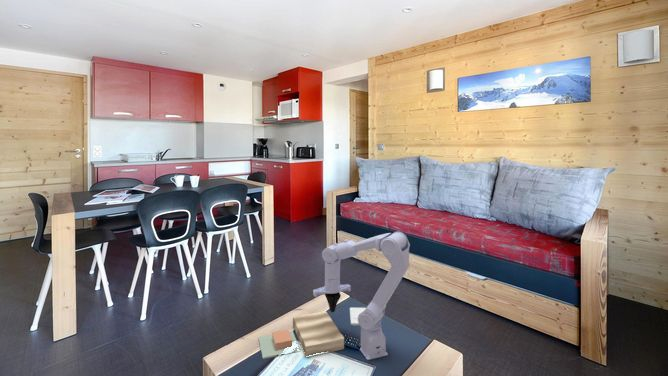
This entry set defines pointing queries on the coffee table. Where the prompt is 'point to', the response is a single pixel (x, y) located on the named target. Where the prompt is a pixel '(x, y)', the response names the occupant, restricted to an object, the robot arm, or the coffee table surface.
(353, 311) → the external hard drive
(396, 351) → the coffee table surface
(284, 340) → the tile
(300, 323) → the wavy block
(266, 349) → the mat
